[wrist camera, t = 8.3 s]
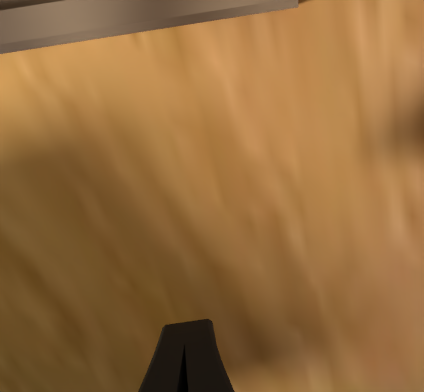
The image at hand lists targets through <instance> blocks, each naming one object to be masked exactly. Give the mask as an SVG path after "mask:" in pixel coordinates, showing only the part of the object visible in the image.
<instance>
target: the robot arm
mask: <svg viewBox="0 0 424 392" xmlns="http://www.w3.org/2000/svg"><path fill="white" fill-rule="evenodd" d="M138 392H234V390H233V388H232V385H231V383H230V380H229V378H228V376H227V373H226V371H225V368H224V366H223V363H222V361H221V358H220V355H219V352H218V349H217V345H216V339H215V334H214V329H213V323H212V321H210V320H209V319H204V320H197V321H190V322H183V323H176V324H169V325H165V326H164V327H163V328H162V331H161V335H160V338H159V341H158V344H157V347H156V350H155V352H154V355H153V358H152V360H151V363H150V365H149V368H148V370H147V373H146V375H145V377H144V380H143V382H142V384H141V387H140V389H139V391H138Z"/></svg>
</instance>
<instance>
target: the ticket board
mask: <svg viewBox="0 0 424 392" xmlns="http://www.w3.org/2000/svg"><path fill="white" fill-rule="evenodd" d="M297 7H298V0H0V54H3V53H9V52H16V51H22V50H28V49H35V48H41V47H48V46H54V45H60V44H67V43H73V42H80V41H86V40H92V39H99V38H105V37H111V36H118V35H124V34H131V33H137V32H143V31H150V30H156V29H163V28H169V27H175V26H182V25H188V24H195V23H201V22H207V21H214V20H220V19H226V18H233V17H239V16H246V15H252V14H258V13H265V12H271V11H278V10H284V9H290V8H297Z"/></svg>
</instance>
